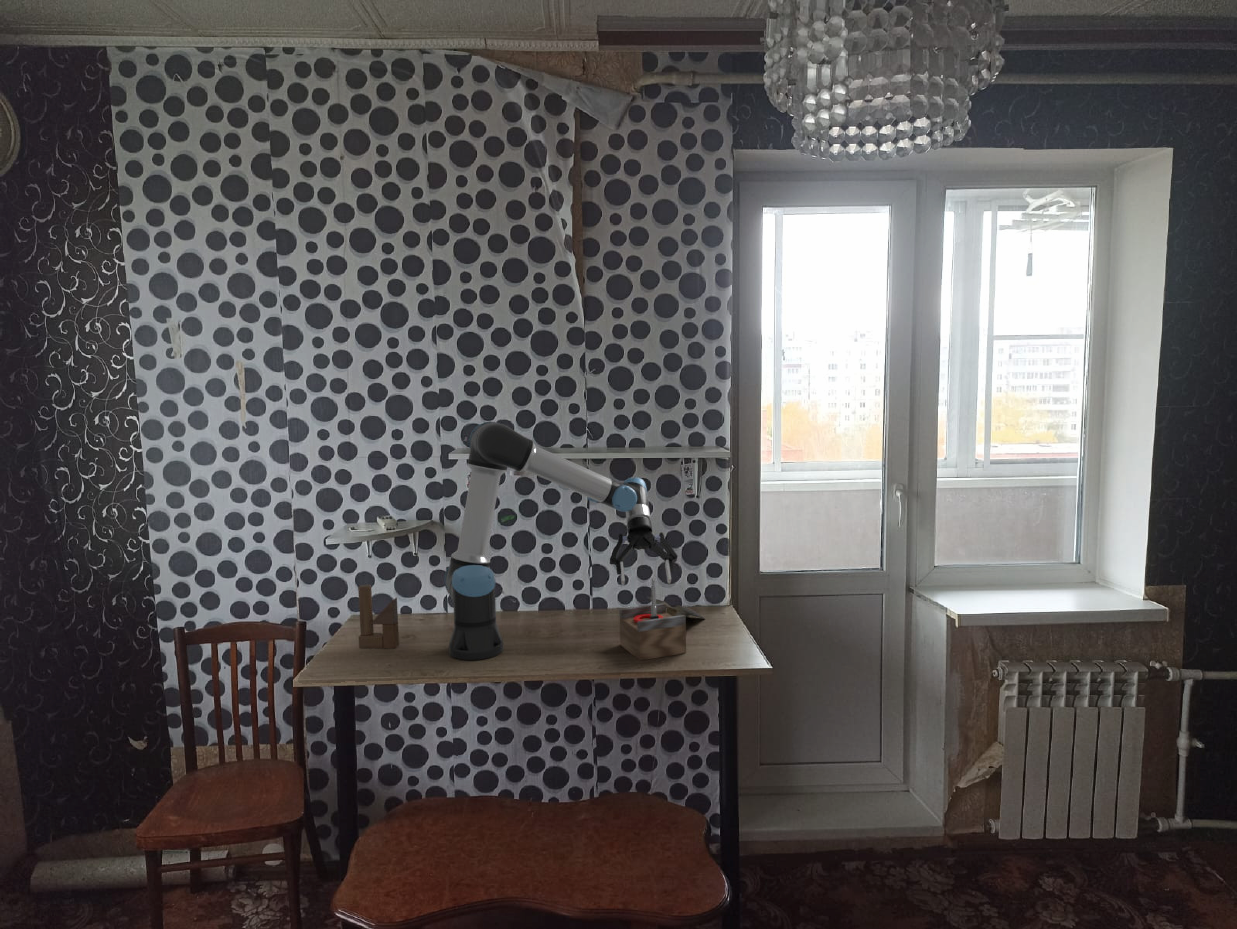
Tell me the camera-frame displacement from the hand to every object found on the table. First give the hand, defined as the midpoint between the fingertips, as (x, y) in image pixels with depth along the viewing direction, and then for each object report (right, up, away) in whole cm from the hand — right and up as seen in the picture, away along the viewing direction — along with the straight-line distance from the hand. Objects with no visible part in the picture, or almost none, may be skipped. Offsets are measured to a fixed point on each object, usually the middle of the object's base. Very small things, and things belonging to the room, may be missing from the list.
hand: (646, 582), depth 230 cm
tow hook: (0, -10, -9) cm, 13 cm away
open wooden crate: (+1, -18, -8) cm, 19 cm away
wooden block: (-77, -19, -2) cm, 80 cm away
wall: (+10, -15, +17) cm, 24 cm away
